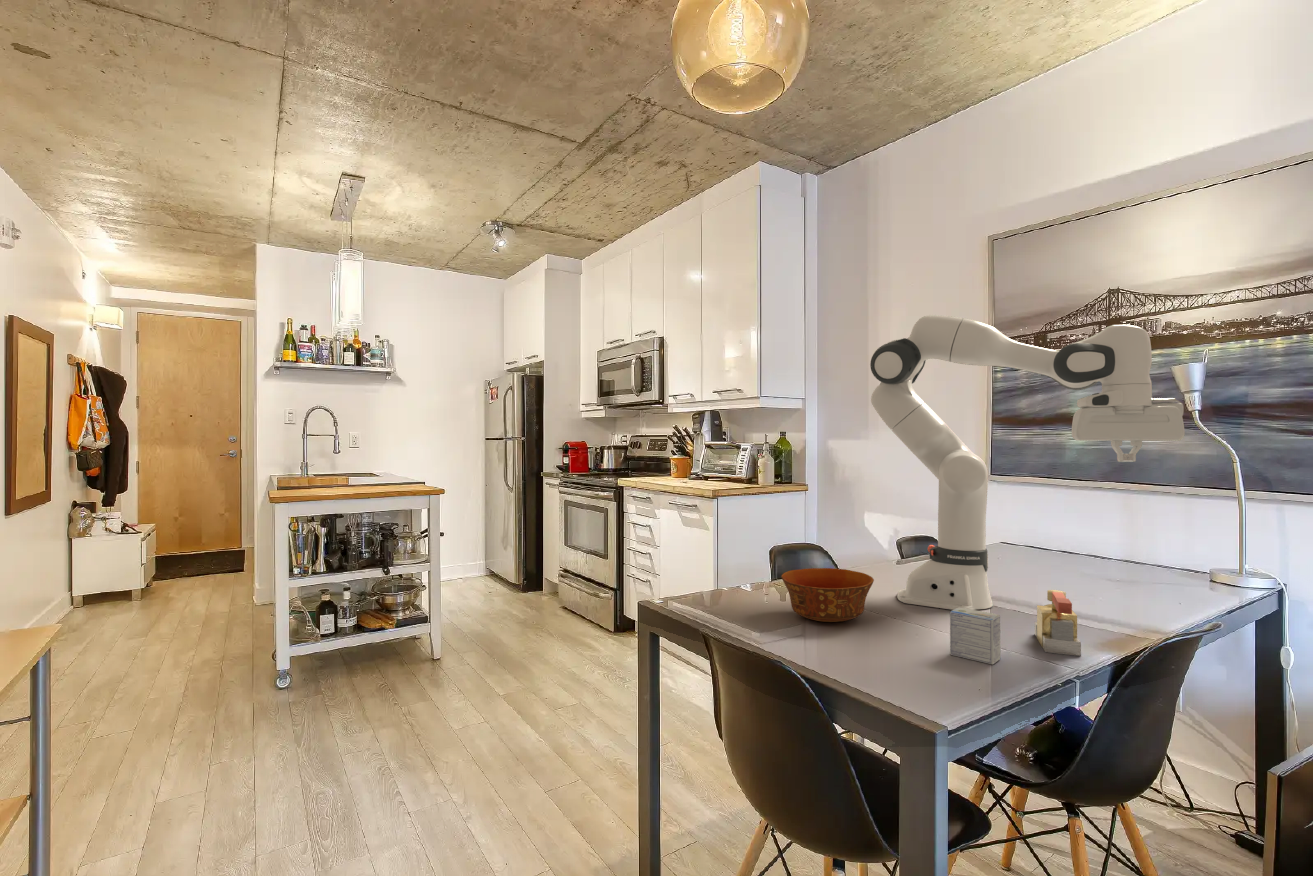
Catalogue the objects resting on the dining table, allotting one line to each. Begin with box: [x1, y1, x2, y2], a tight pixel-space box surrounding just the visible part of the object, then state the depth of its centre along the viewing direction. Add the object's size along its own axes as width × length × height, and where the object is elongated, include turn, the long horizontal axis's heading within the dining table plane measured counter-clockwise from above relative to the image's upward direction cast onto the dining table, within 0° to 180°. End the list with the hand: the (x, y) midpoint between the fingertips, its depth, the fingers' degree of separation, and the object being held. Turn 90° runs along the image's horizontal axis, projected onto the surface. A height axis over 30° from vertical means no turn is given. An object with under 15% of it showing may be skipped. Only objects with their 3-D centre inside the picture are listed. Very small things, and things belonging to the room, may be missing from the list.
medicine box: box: [949, 608, 1002, 665], centre depth 122 cm, size 8×4×9 cm, turn 44°
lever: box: [1046, 589, 1073, 614], centre depth 125 cm, size 12×3×2 cm, turn 155°
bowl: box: [780, 567, 875, 623], centre depth 148 cm, size 21×21×10 cm
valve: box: [1034, 601, 1082, 657], centre depth 129 cm, size 12×6×9 cm, turn 157°
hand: (1126, 461), depth 139 cm, fingers closed
